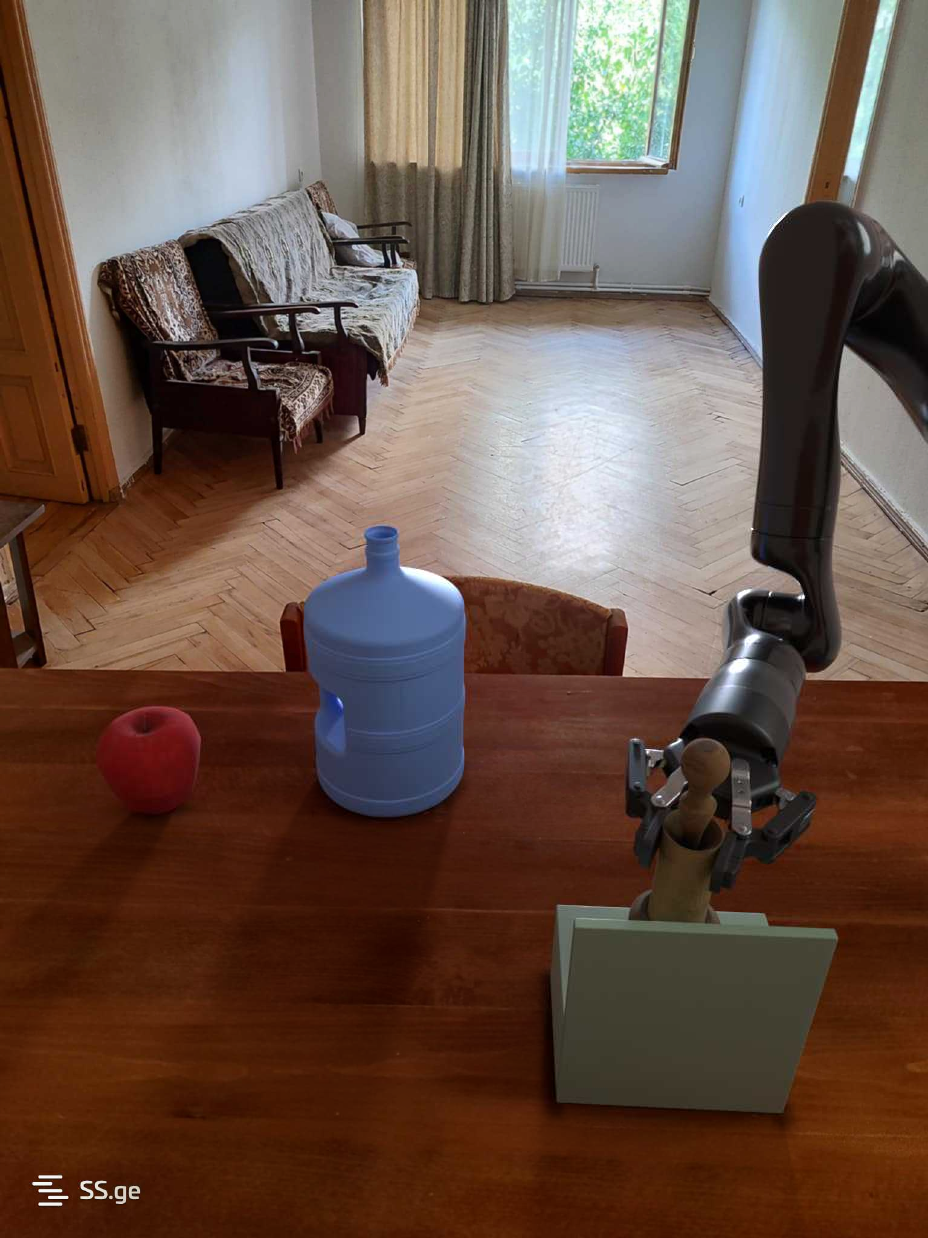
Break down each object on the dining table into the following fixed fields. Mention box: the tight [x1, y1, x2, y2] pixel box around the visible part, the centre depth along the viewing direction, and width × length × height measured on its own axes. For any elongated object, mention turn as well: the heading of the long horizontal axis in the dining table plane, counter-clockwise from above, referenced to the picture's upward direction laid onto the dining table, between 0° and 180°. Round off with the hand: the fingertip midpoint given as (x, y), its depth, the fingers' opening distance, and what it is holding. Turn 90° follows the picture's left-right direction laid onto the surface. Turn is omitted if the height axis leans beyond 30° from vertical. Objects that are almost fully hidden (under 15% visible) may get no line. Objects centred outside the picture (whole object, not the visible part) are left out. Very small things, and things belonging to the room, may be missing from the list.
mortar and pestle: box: [628, 738, 730, 924], centre depth 59 cm, size 7×6×18 cm
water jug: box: [303, 525, 467, 818], centre depth 88 cm, size 16×16×28 cm
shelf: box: [549, 904, 839, 1114], centre depth 63 cm, size 16×11×18 cm
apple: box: [94, 705, 202, 815], centre depth 87 cm, size 10×10×11 cm
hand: (680, 869), depth 56 cm, fingers closed on mortar and pestle, 4 cm apart
